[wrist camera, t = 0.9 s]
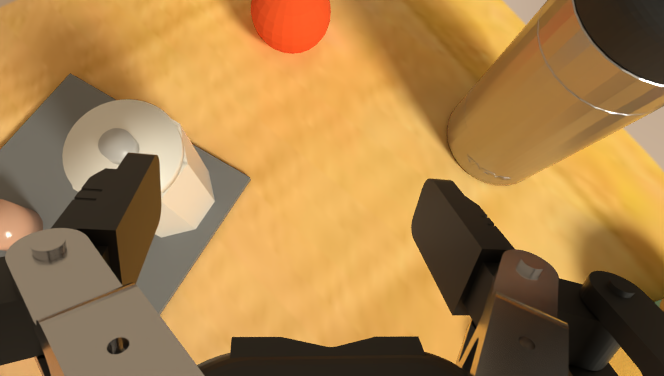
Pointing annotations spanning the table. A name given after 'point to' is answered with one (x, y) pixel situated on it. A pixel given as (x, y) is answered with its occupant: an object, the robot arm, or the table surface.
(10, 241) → the peach round piece
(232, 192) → the mat
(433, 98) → the table surface
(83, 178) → the white lidded jar
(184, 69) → the table surface
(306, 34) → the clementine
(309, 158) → the table surface
